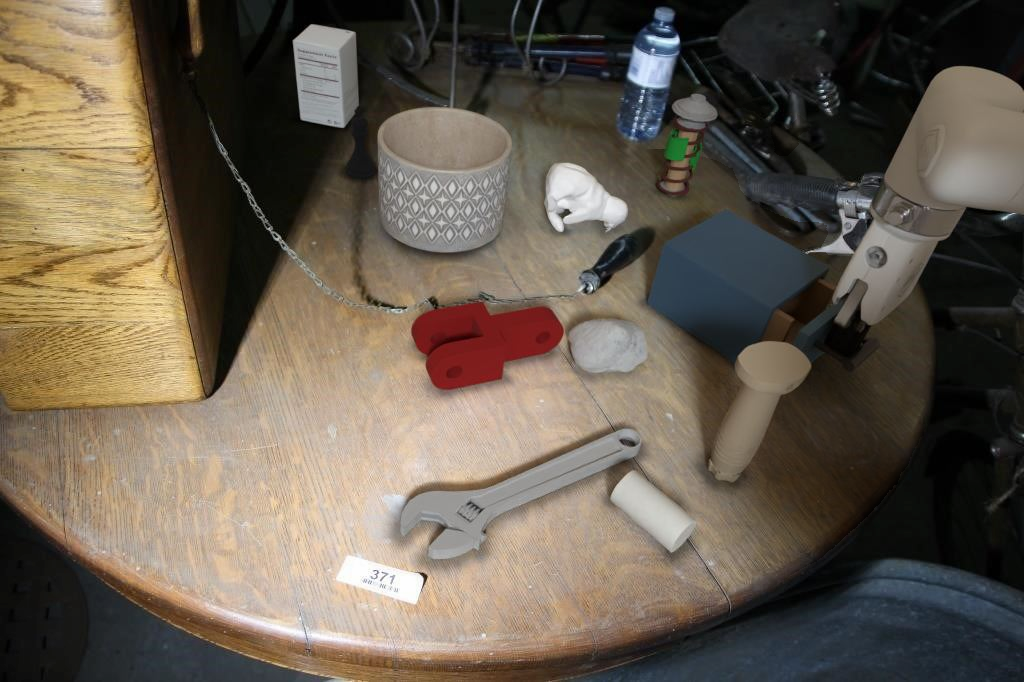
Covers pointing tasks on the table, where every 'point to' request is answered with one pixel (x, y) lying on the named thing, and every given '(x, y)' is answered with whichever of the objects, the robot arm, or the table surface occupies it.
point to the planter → (443, 178)
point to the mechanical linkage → (481, 341)
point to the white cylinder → (653, 510)
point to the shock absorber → (685, 143)
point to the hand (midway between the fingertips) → (839, 348)
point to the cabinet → (729, 281)
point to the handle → (755, 403)
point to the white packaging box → (326, 75)
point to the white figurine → (580, 198)
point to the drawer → (814, 326)
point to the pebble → (608, 345)
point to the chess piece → (360, 150)
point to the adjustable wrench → (509, 494)
